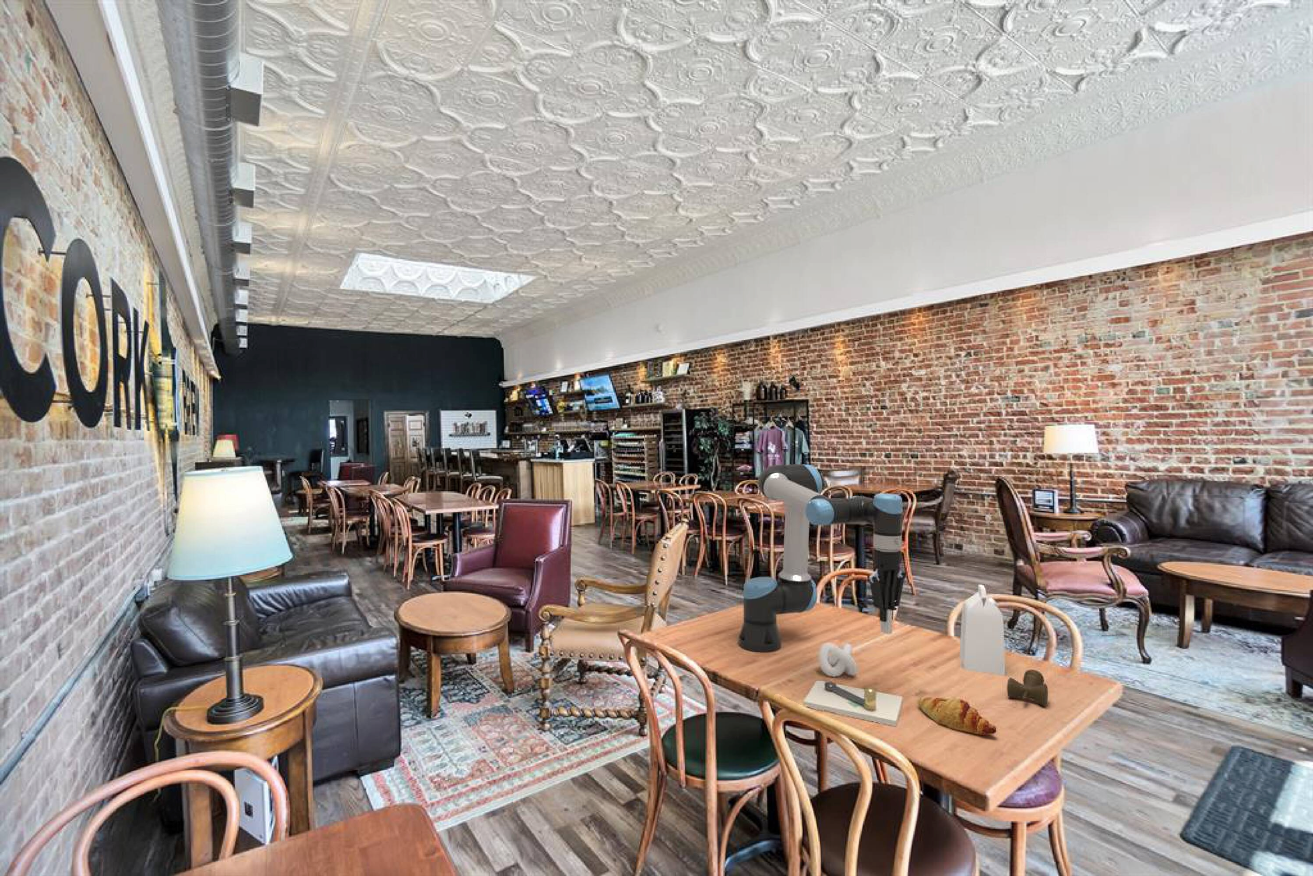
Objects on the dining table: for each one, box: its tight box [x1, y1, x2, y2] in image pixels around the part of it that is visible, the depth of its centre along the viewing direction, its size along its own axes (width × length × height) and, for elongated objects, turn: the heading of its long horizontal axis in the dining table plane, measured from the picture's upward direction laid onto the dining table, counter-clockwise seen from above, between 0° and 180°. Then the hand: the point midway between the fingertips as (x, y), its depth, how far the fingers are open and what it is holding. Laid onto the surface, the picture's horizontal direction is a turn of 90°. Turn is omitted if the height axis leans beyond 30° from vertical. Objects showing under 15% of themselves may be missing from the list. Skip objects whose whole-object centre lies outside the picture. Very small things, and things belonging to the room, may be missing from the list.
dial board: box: [803, 680, 904, 727], centre depth 167 cm, size 24×16×2 cm, turn 62°
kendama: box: [1006, 669, 1049, 707], centre depth 172 cm, size 6×10×20 cm
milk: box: [959, 584, 1006, 677], centre depth 194 cm, size 12×12×26 cm
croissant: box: [917, 697, 997, 736], centre depth 156 cm, size 21×10×8 cm, turn 34°
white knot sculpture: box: [817, 642, 858, 678], centre depth 189 cm, size 11×12×9 cm
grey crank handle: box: [824, 681, 877, 710], centre depth 167 cm, size 17×3×5 cm, turn 31°
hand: (886, 632), depth 168 cm, fingers closed
